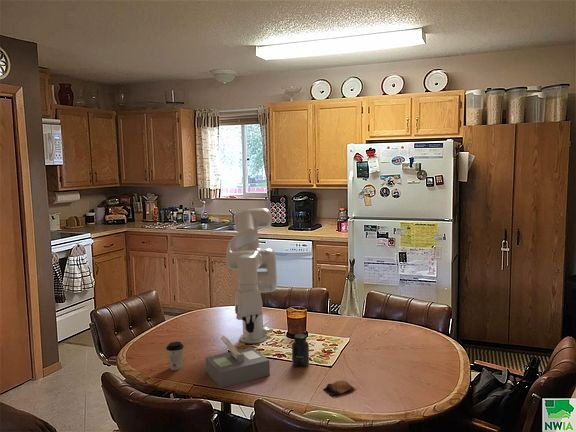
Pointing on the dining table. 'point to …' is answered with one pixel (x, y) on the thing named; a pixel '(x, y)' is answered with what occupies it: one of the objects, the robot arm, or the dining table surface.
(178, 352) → the coffee cup
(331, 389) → the bread roll
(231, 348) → the switch lever
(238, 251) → the robot arm
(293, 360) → the supplement bottle
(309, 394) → the dining table surface
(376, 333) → the dining table surface
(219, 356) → the switch box
